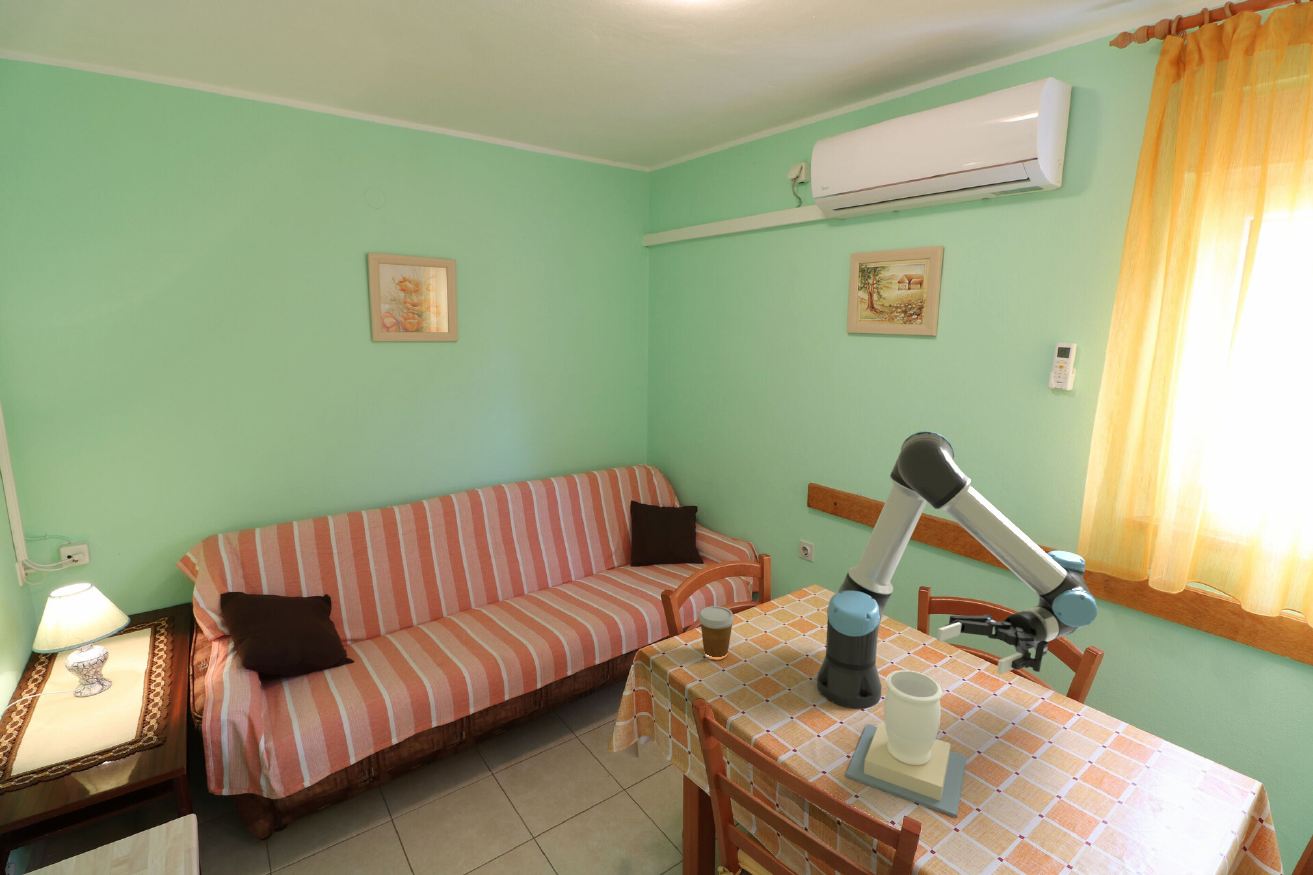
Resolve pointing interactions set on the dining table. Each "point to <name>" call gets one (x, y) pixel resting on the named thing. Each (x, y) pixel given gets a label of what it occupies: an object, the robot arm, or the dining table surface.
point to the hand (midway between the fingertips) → (967, 650)
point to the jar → (912, 715)
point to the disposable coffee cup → (716, 630)
